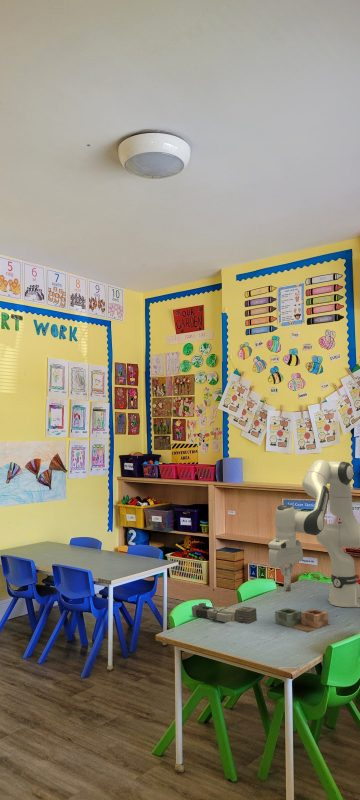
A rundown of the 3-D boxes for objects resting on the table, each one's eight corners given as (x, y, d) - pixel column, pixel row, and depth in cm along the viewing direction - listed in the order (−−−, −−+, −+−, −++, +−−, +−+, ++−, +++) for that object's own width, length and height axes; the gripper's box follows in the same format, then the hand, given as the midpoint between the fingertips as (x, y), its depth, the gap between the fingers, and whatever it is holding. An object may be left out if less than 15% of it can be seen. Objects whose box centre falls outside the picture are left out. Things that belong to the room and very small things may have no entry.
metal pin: (287, 589, 252) (286, 566, 253) (292, 590, 250) (291, 567, 251) (282, 590, 250) (281, 567, 251) (288, 591, 248) (287, 568, 249)
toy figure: (203, 599, 274) (258, 607, 256) (204, 614, 274) (259, 622, 256) (190, 605, 265) (245, 612, 247) (190, 620, 264) (246, 629, 247)
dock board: (296, 619, 260) (295, 604, 260) (330, 627, 246) (329, 612, 247) (273, 626, 249) (273, 611, 250) (308, 636, 236) (307, 619, 236)
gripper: (294, 538, 261) (295, 569, 260) (265, 544, 248) (266, 576, 246) (305, 540, 256) (307, 571, 255) (277, 545, 243) (278, 579, 242)
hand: (287, 574), depth 251 cm, fingers closed on metal pin, 3 cm apart
